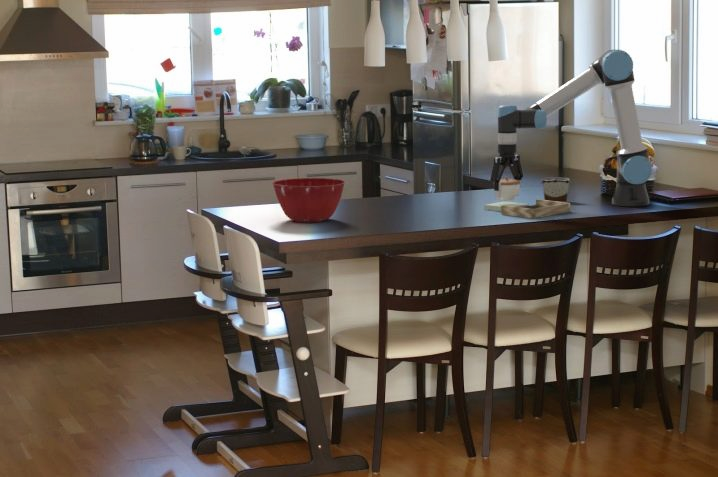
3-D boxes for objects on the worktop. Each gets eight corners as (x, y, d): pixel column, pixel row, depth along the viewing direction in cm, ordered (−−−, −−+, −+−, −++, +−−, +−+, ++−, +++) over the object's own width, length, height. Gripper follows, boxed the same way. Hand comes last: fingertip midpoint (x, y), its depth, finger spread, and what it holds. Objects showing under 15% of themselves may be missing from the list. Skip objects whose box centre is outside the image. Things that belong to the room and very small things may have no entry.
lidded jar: (499, 202, 468) (499, 178, 466) (489, 198, 478) (489, 175, 477) (524, 200, 471) (524, 177, 469) (513, 197, 481) (513, 174, 479)
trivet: (529, 209, 475) (529, 204, 475) (508, 212, 466) (508, 207, 466) (504, 206, 484) (504, 201, 484) (484, 209, 476) (484, 204, 475)
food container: (569, 200, 498) (569, 177, 496) (570, 202, 492) (570, 178, 490) (540, 200, 499) (540, 177, 497) (541, 202, 493) (541, 179, 491)
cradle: (570, 211, 466) (570, 202, 466) (533, 218, 451) (533, 209, 450) (537, 207, 478) (537, 199, 478) (501, 214, 463) (501, 205, 462)
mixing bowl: (306, 212, 475) (305, 175, 473) (360, 218, 458) (360, 179, 455) (258, 222, 454) (257, 182, 451) (313, 228, 436) (312, 187, 433)
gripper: (518, 140, 481) (517, 193, 485) (481, 144, 466) (481, 199, 469) (532, 141, 476) (531, 195, 479) (495, 146, 460) (495, 201, 464)
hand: (506, 197), depth 474 cm, fingers closed on lidded jar, 11 cm apart
